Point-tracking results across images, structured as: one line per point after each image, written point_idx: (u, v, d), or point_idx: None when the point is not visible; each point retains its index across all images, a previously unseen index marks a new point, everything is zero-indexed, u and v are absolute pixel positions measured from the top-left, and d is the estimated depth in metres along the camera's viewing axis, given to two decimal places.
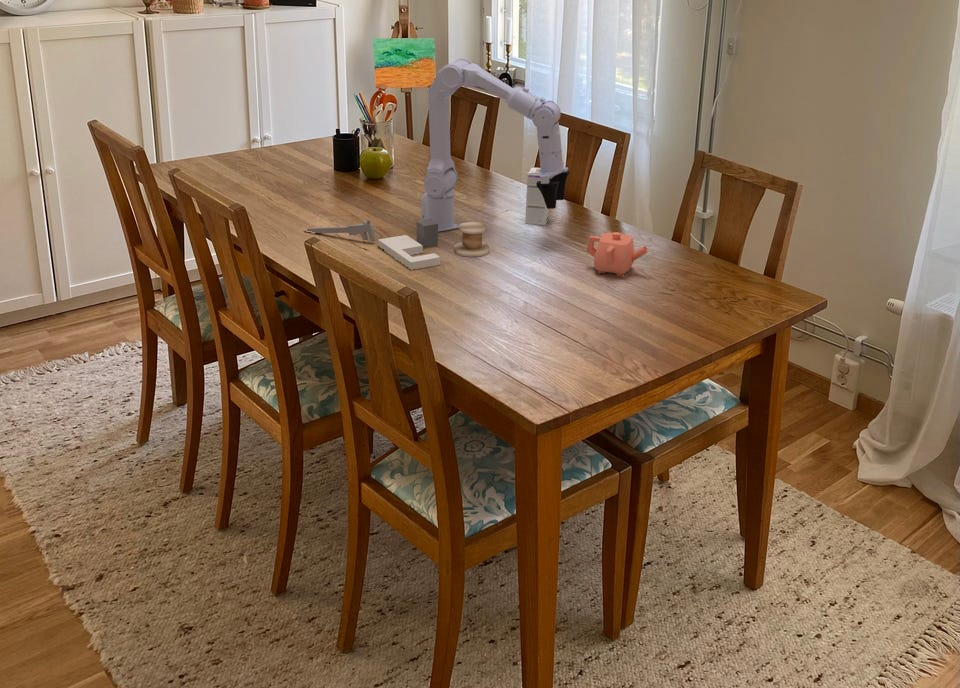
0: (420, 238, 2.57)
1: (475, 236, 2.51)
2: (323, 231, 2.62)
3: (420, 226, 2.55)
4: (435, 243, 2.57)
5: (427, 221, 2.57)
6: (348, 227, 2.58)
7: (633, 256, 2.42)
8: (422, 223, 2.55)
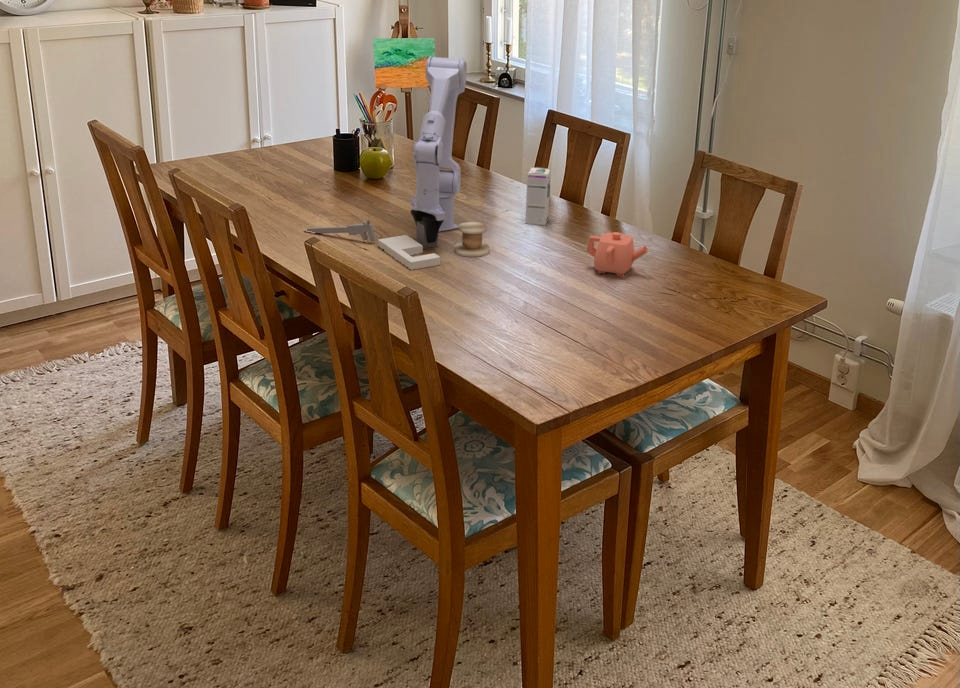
0: (420, 238, 2.57)
1: (475, 236, 2.51)
2: (323, 231, 2.62)
3: (420, 226, 2.55)
4: (435, 243, 2.57)
5: None
6: (348, 227, 2.58)
7: (633, 256, 2.42)
8: (422, 223, 2.55)
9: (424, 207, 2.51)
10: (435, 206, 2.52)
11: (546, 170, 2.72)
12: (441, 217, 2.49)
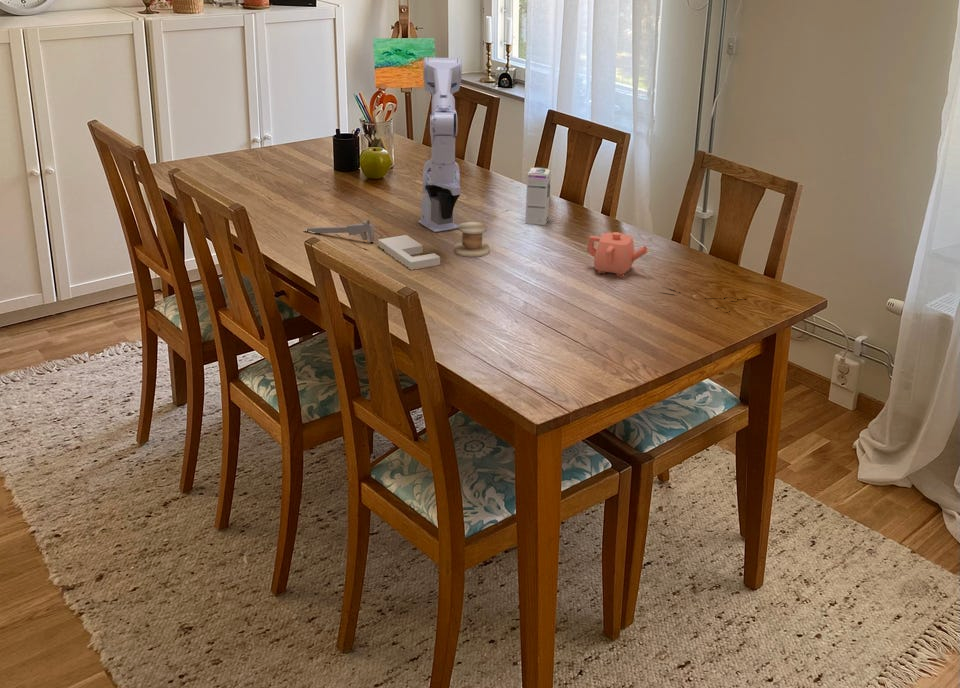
0: (434, 215, 2.49)
1: (475, 236, 2.51)
2: (323, 231, 2.62)
3: (434, 202, 2.47)
4: (450, 220, 2.49)
5: None
6: (348, 227, 2.58)
7: (633, 256, 2.42)
8: (437, 199, 2.47)
9: (439, 182, 2.43)
10: (451, 181, 2.44)
11: (546, 170, 2.72)
12: (457, 191, 2.41)
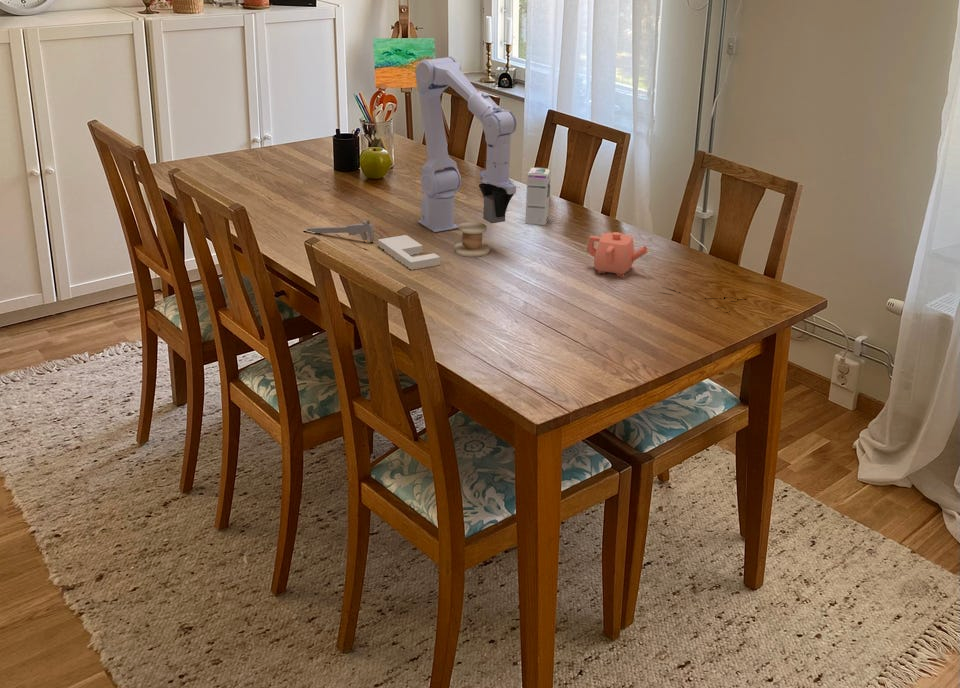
0: (487, 213, 2.52)
1: (475, 236, 2.51)
2: (323, 231, 2.62)
3: (488, 201, 2.51)
4: (502, 218, 2.53)
5: None
6: (348, 227, 2.58)
7: (633, 256, 2.42)
8: (490, 198, 2.50)
9: (494, 181, 2.47)
10: (505, 179, 2.48)
11: (546, 170, 2.72)
12: (512, 190, 2.44)
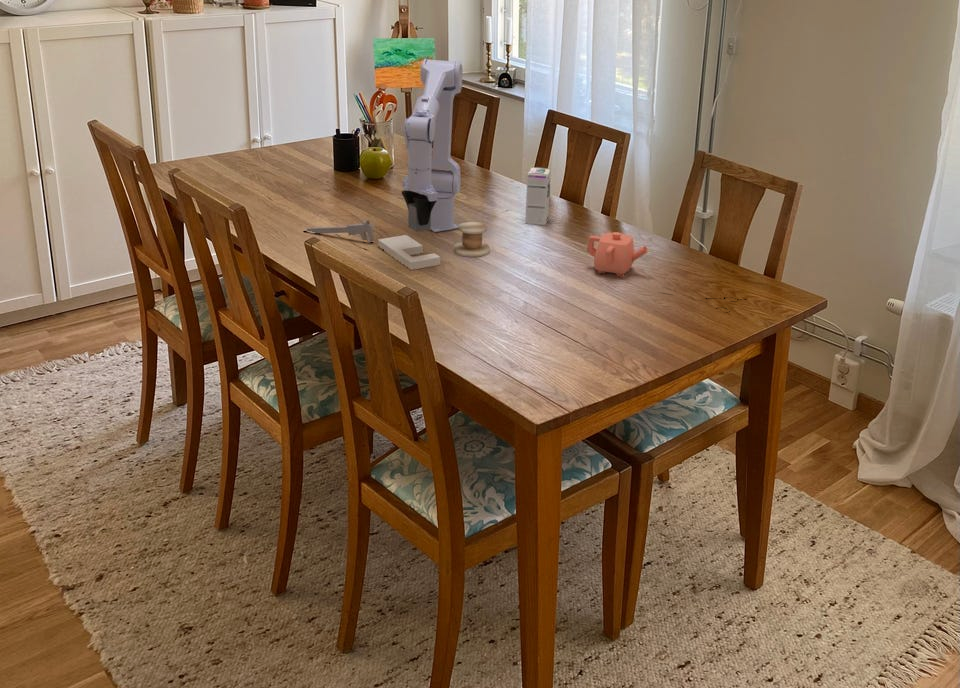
0: (411, 221, 2.44)
1: (475, 236, 2.51)
2: (322, 231, 2.62)
3: (412, 208, 2.43)
4: (428, 226, 2.45)
5: None
6: (347, 227, 2.58)
7: (633, 256, 2.42)
8: (414, 205, 2.43)
9: (415, 188, 2.39)
10: (427, 186, 2.39)
11: (546, 170, 2.72)
12: (433, 197, 2.36)
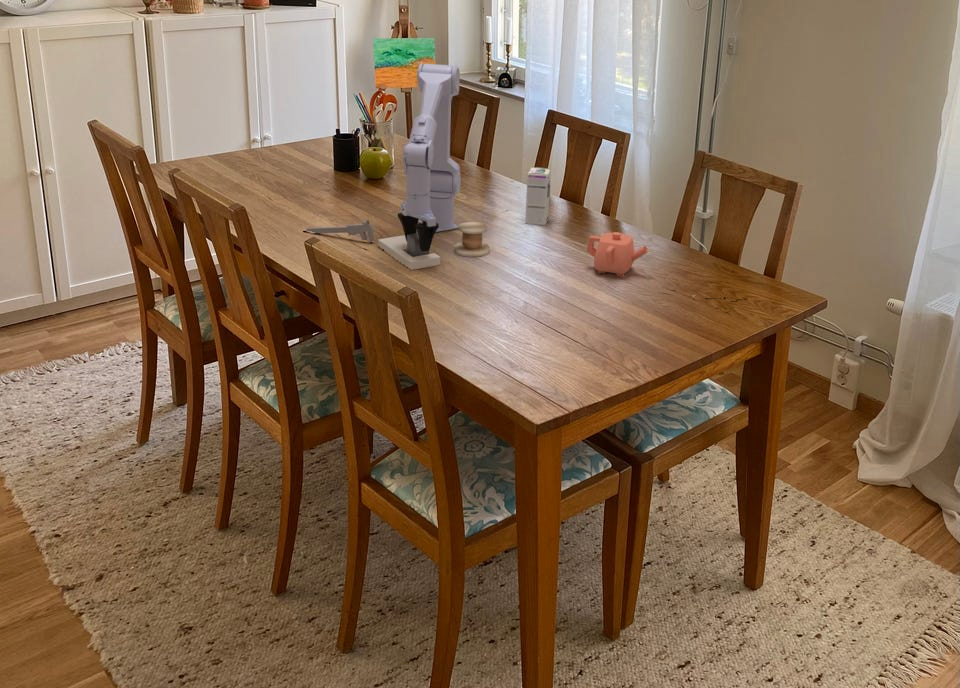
0: (410, 252, 2.47)
1: (475, 236, 2.51)
2: (322, 231, 2.62)
3: (410, 240, 2.46)
4: None
5: None
6: (347, 227, 2.58)
7: (633, 256, 2.42)
8: (413, 237, 2.46)
9: (414, 213, 2.41)
10: (426, 211, 2.42)
11: (546, 170, 2.72)
12: (432, 222, 2.38)
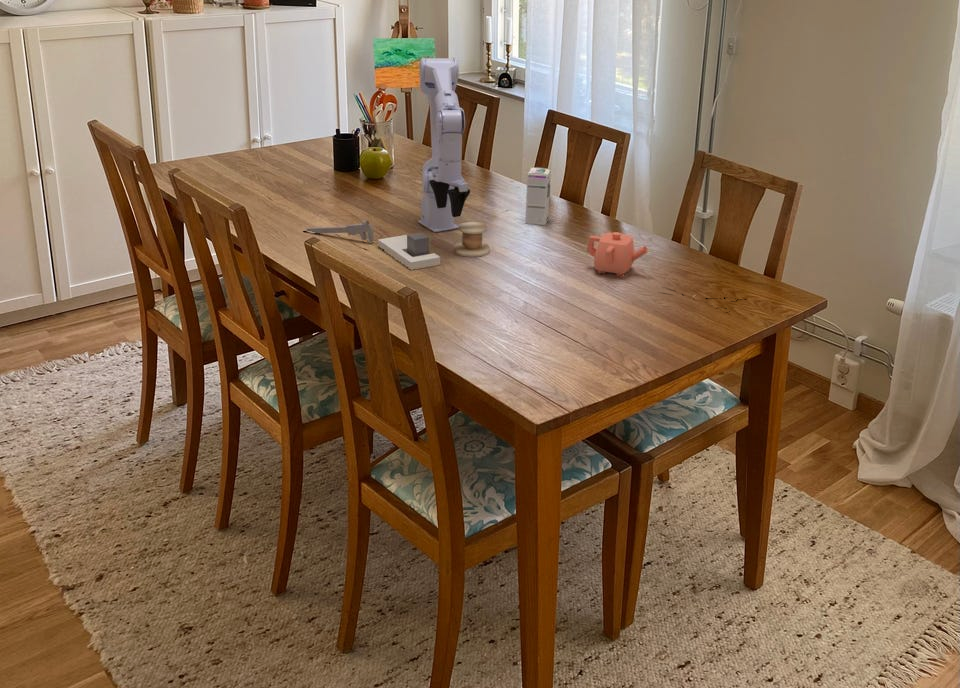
0: (410, 252, 2.47)
1: (475, 236, 2.51)
2: (322, 231, 2.62)
3: (410, 240, 2.46)
4: None
5: (418, 234, 2.47)
6: (347, 227, 2.58)
7: (633, 256, 2.42)
8: (412, 237, 2.46)
9: (446, 179, 2.47)
10: (457, 177, 2.47)
11: (546, 170, 2.72)
12: (464, 188, 2.44)
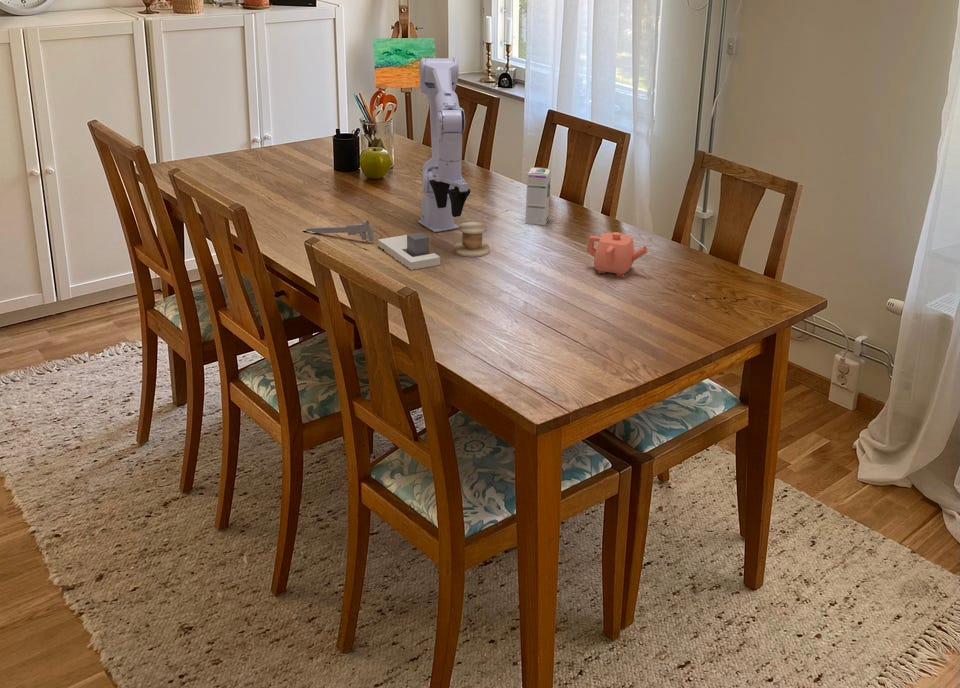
0: (410, 252, 2.47)
1: (475, 236, 2.51)
2: (322, 231, 2.62)
3: (410, 240, 2.46)
4: None
5: (418, 234, 2.47)
6: (347, 227, 2.58)
7: (633, 256, 2.42)
8: (412, 237, 2.46)
9: (446, 178, 2.47)
10: (457, 177, 2.47)
11: (546, 170, 2.72)
12: (464, 187, 2.44)
